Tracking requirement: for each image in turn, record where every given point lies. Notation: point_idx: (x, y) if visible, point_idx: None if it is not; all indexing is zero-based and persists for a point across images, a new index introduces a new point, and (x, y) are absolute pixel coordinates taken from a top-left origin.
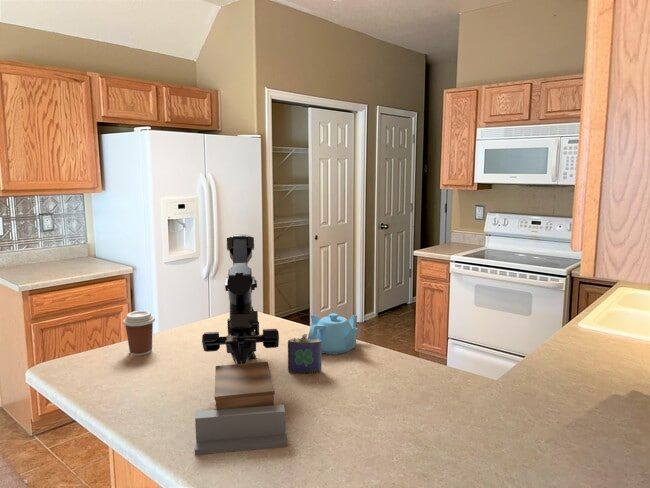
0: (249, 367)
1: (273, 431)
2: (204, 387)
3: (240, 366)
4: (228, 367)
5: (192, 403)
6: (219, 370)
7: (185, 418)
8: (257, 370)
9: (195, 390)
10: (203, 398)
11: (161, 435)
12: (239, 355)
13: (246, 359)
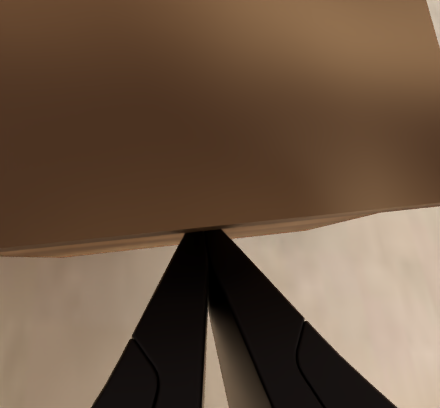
0: (105, 102)
1: None
2: (402, 399)
3: (214, 150)
4: (342, 138)
5: (408, 223)
6: (413, 79)
7: None
8: (11, 11)
9: (434, 362)
10: (375, 268)
11: (436, 11)
12: (260, 360)
13: (142, 319)
